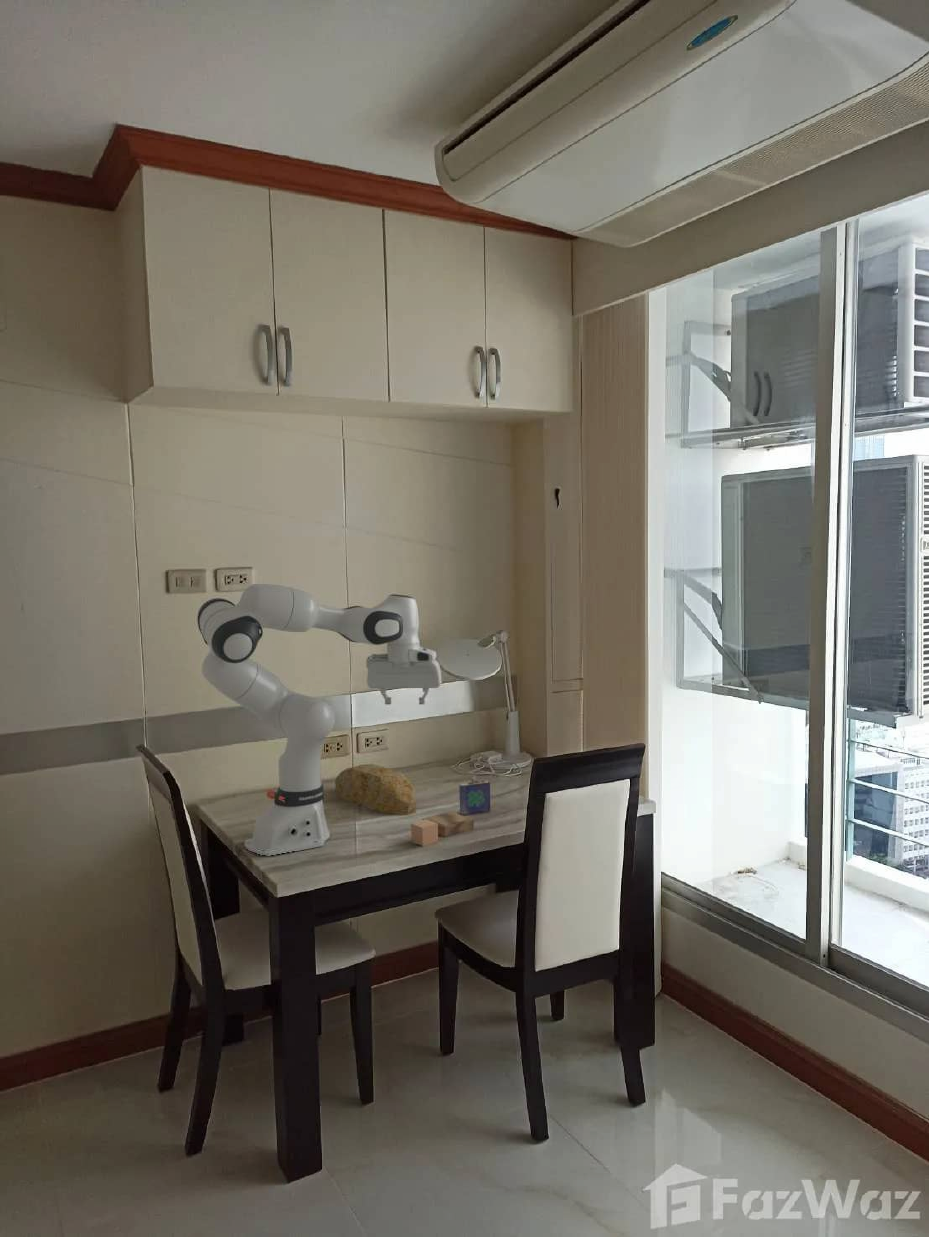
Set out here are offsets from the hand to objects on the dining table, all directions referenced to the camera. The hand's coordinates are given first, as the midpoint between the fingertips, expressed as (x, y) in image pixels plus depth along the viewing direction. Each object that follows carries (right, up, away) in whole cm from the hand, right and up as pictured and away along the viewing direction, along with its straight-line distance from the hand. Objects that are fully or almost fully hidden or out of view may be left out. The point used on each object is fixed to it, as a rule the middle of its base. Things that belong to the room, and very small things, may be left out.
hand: (405, 704), depth 252 cm
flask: (+19, -33, +13) cm, 40 cm away
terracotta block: (+6, -35, -9) cm, 37 cm away
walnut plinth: (+12, -34, +1) cm, 36 cm away
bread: (-11, -32, +28) cm, 44 cm away
